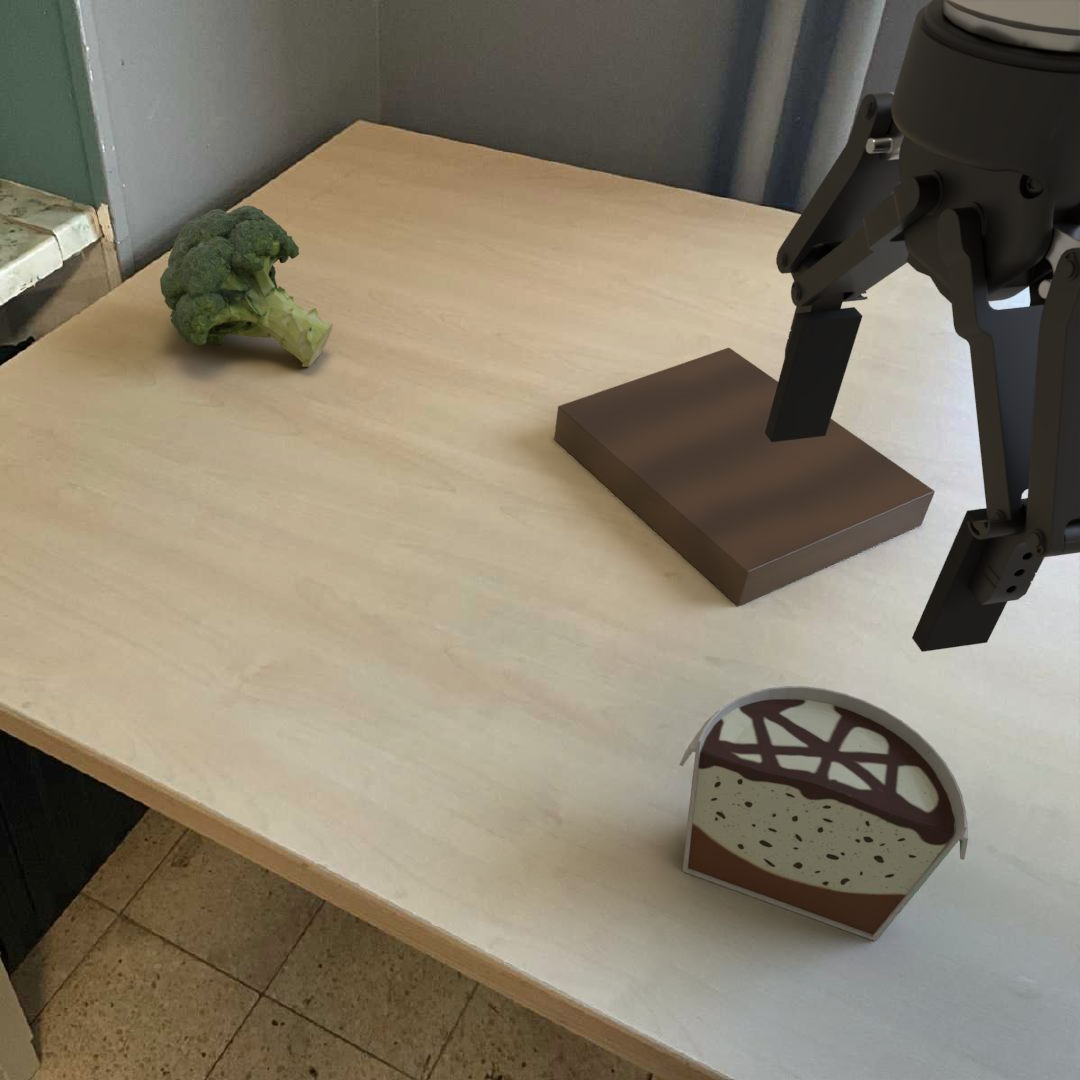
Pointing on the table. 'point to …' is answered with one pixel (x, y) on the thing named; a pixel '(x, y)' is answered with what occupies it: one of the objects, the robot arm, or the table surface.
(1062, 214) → the robot arm
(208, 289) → the vegetable
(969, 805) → the table surface
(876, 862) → the food container
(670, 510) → the board
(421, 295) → the table surface
